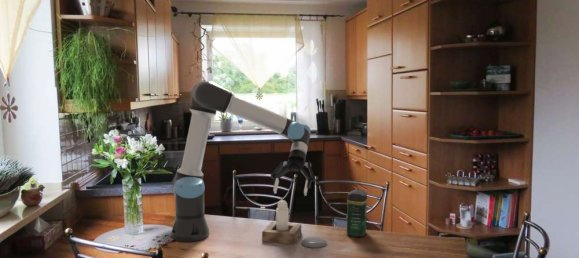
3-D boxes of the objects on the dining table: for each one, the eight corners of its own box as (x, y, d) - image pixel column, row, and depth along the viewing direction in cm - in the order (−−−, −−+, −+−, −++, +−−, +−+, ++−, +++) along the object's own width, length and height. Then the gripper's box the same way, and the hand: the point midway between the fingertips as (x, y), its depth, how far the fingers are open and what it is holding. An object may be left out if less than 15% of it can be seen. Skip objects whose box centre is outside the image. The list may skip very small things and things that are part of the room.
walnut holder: (262, 241, 165) (262, 231, 165) (272, 230, 178) (272, 221, 177) (293, 244, 162) (293, 234, 162) (301, 233, 174) (301, 224, 174)
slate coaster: (298, 246, 160) (298, 244, 160) (304, 237, 169) (304, 236, 169) (324, 249, 157) (324, 247, 157) (328, 240, 167) (328, 238, 167)
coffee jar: (364, 238, 169) (365, 194, 167) (345, 236, 172) (345, 192, 170) (367, 231, 178) (368, 188, 176) (349, 229, 181) (350, 187, 179)
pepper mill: (274, 238, 168) (274, 201, 167) (278, 234, 173) (278, 198, 172) (286, 239, 167) (286, 202, 165) (289, 235, 172) (290, 199, 170)
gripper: (325, 159, 191) (319, 199, 178) (274, 157, 197) (264, 195, 184) (323, 149, 185) (316, 190, 172) (270, 147, 192) (260, 186, 179)
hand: (289, 193), depth 178 cm, fingers open, 13 cm apart
